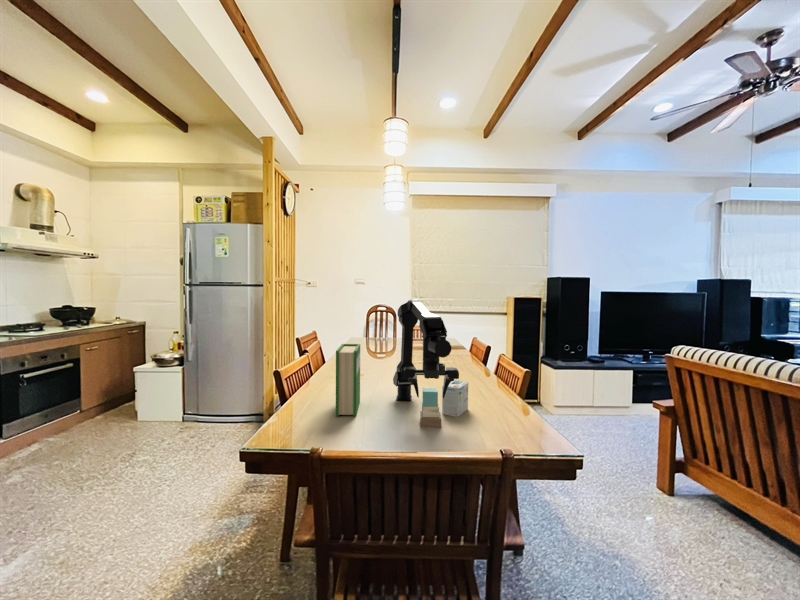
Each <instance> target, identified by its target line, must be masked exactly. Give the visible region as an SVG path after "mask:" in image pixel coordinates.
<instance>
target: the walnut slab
mask: <svg viewBox="0 0 800 600" xmlns="http://www.w3.org/2000/svg"><path fill="white" fill-rule="evenodd" d="M419 414H420V415H419V416H420V417H419V418H420V423H419V427H420V428H431V429H433V428H434V429H437V428H438V429H439V428H441V429H442V415H441V414H442V413H441V411H439V417H423V415H422V410H420V413H419Z"/></svg>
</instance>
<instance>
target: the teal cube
mask: <svg viewBox="0 0 800 600" xmlns="http://www.w3.org/2000/svg"><path fill="white" fill-rule="evenodd" d="M422 402H423V406H426V407H438V405H439V392H438V388H437V387H422Z"/></svg>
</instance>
